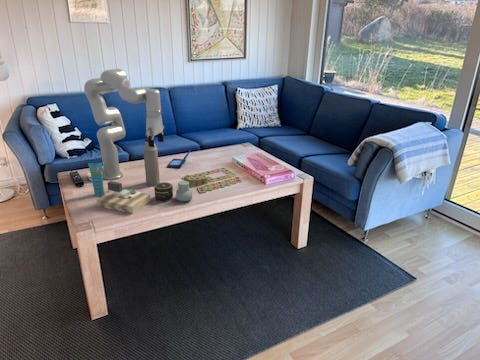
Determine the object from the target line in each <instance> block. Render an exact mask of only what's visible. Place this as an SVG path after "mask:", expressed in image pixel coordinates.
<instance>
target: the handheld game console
mask: <svg viewBox="0 0 480 360" xmlns="http://www.w3.org/2000/svg"><path fill="white" fill-rule="evenodd" d="M190 153H191V149H189V150H188V152H186V153H185V154H186V155H184V157H183V158H173V159H172V160H171V161H170V162H169V163H168V164H167V165H166V168H168V169H181V168H182V166H183V165H184V164H185V163H186V159H188V158H187V157H188V156H189V154H190Z"/></svg>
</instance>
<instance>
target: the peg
mask: <svg viewBox="0 0 480 360" xmlns="http://www.w3.org/2000/svg"><path fill="white" fill-rule="evenodd" d="M122 189H123V184H122V182H117V181H112V180H109V181H108V182H107V190H108V191H113V193H114V196H117V195H122V196H127V197H132V196H131V195H126V194H121V193H118V192H121V191H122Z"/></svg>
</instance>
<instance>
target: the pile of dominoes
mask: <svg viewBox="0 0 480 360" xmlns="http://www.w3.org/2000/svg"><path fill="white" fill-rule="evenodd" d="M221 172H222V173H224V172H225V173H224V175H221V176H217V177H211V176H208V175H212V174H215V173H221ZM181 179H182V181H188V182H189V188H190V189H193V188H195V187H197V191H198V193H199V194H206V193H207V192H212V191H213V190H219V189H223V188H225V187H231V185H236V184H238V182H239V183H243V180H242V178H241V176H238V174H237V173H234V172H233V171H231V170H229V169H227V168H226V167H219V168H215V169H211V170H206V171H203V172H202V171H201V172H198V173H194V174H186V175H184V176H182V177H181ZM208 182H209V184H208ZM236 182H237V183H236ZM202 185H203V186H202Z"/></svg>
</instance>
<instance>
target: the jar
mask: <svg viewBox="0 0 480 360" xmlns="http://www.w3.org/2000/svg"><path fill="white" fill-rule="evenodd" d="M153 187H154V188H153V189H154V198H155V199H156V200H157V201H158V202H169V201H170V200H172V199H173V196H174V187H173V184H172V183H171V182H160V183H158V184H156V185H155V186H153Z"/></svg>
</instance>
